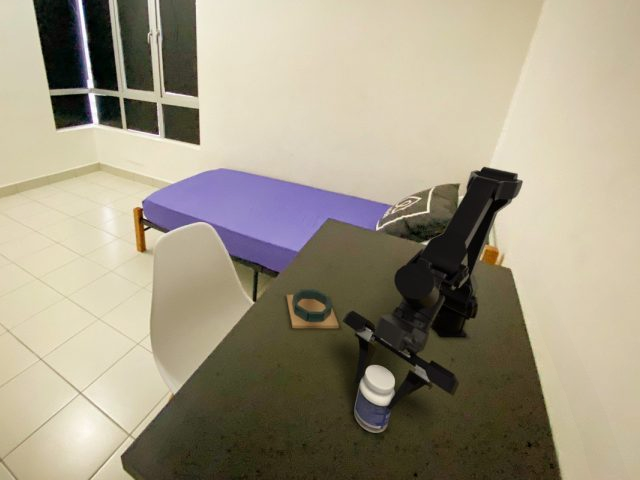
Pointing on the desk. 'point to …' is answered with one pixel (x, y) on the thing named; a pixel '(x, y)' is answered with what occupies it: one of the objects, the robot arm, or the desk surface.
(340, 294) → the desk surface
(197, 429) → the desk surface
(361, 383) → the pill bottle
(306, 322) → the dock
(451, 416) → the desk surface
